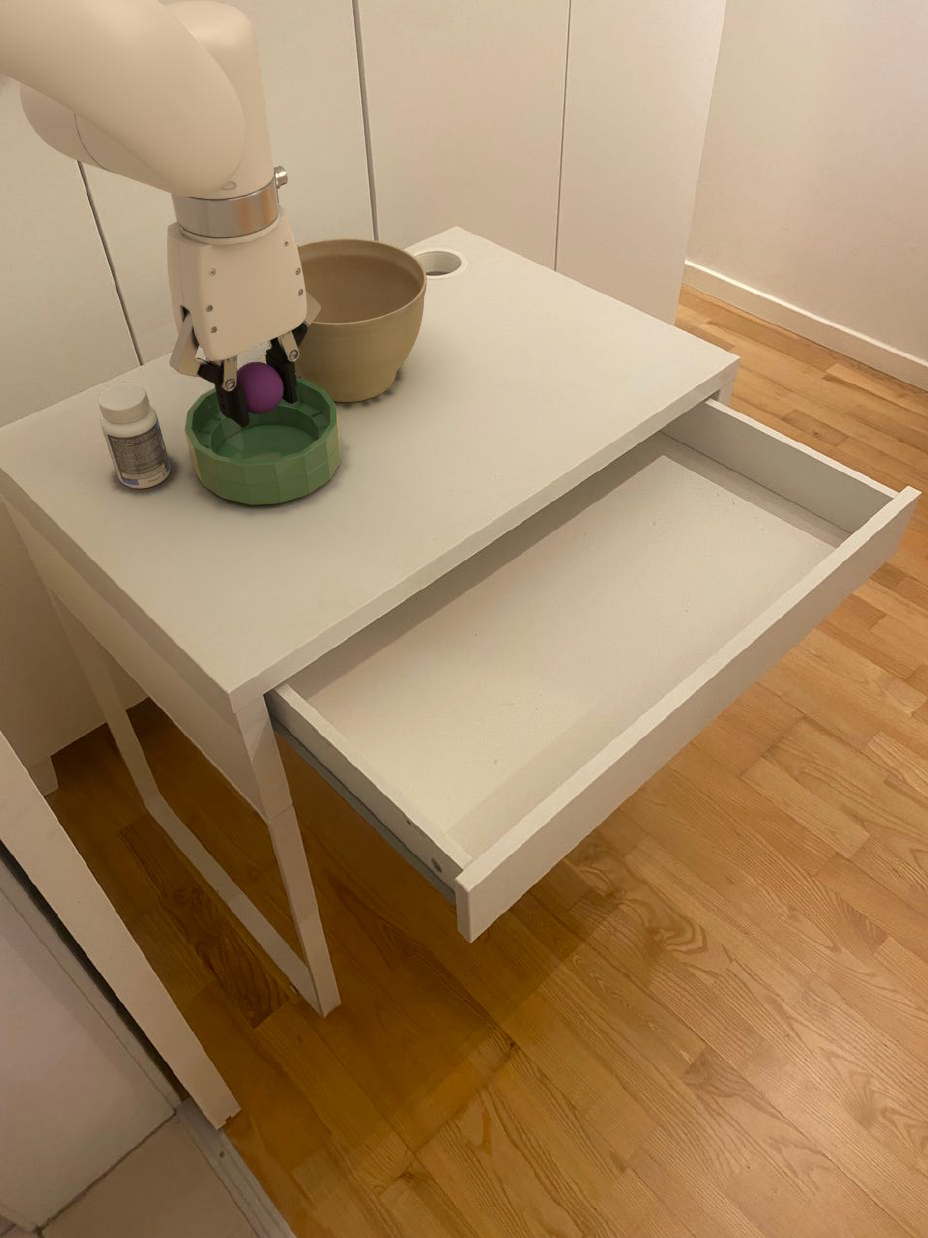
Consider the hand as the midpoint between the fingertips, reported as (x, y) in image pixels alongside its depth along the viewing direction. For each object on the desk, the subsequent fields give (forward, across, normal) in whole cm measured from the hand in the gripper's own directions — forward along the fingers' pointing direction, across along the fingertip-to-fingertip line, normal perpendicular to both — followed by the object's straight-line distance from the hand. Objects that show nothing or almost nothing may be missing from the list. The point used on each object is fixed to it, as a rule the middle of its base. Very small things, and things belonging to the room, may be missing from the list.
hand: (260, 405), depth 84 cm
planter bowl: (+6, -14, -6) cm, 16 cm away
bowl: (+6, 0, 0) cm, 6 cm away
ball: (-2, 0, 0) cm, 2 cm away
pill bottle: (+6, +9, -6) cm, 13 cm away
